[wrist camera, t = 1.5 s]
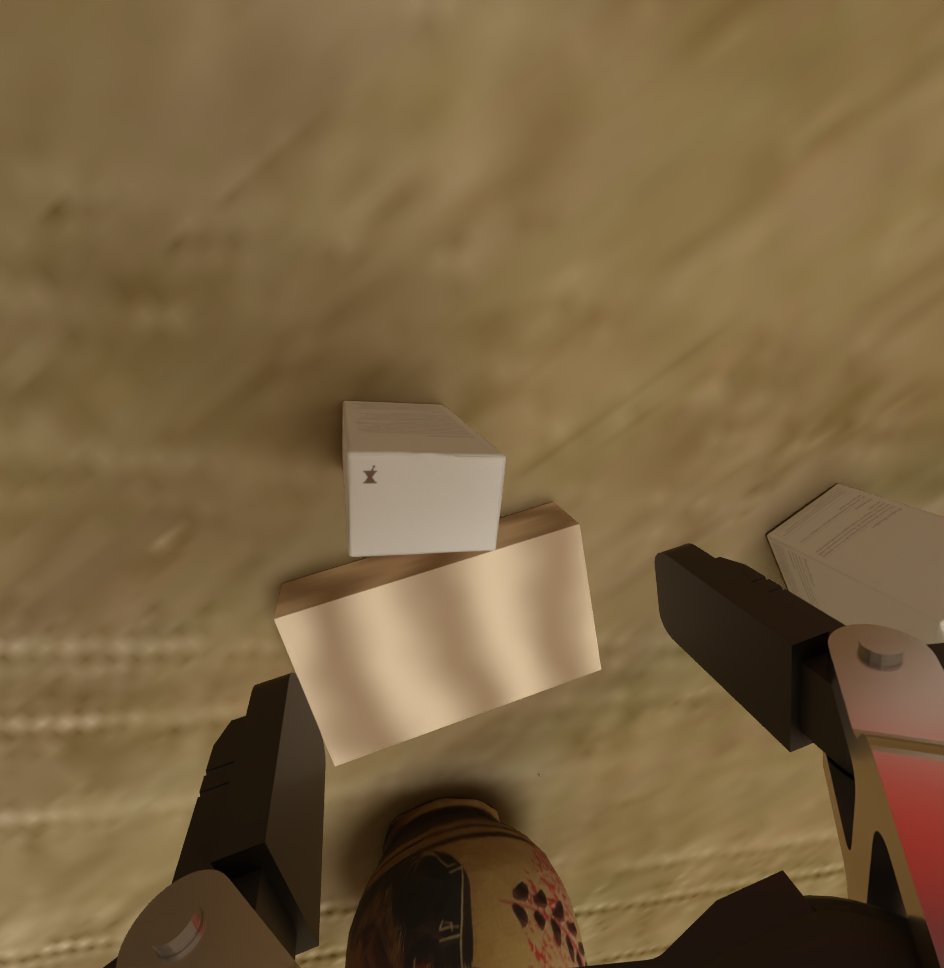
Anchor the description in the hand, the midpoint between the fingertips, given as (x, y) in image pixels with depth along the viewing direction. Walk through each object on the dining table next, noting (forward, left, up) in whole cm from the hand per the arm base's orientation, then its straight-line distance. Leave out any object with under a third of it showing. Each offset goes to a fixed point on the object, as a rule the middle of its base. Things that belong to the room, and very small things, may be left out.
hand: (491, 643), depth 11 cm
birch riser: (0, -12, -21) cm, 24 cm away
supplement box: (+30, -17, -21) cm, 40 cm away
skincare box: (0, 0, -21) cm, 21 cm away
